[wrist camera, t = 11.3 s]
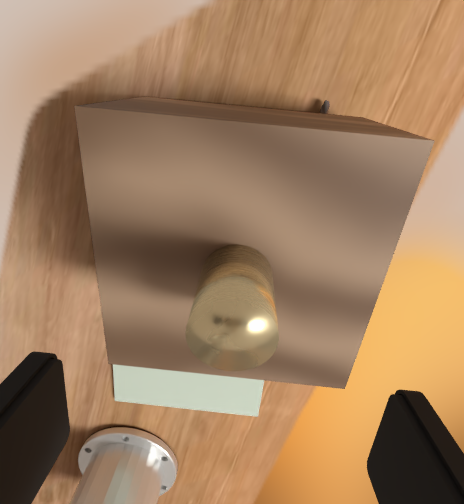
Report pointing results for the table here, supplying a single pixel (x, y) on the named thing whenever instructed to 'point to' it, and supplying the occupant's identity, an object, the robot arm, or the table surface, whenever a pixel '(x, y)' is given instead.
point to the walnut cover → (242, 233)
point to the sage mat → (187, 390)
